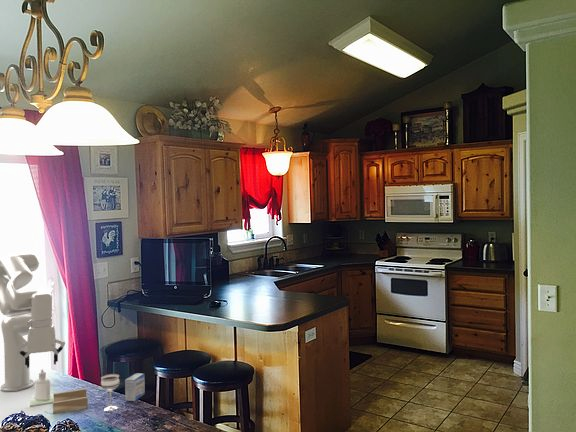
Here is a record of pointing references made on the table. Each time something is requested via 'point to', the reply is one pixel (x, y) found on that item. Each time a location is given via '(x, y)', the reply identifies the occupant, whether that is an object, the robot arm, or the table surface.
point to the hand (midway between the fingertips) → (41, 365)
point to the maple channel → (70, 401)
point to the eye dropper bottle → (42, 387)
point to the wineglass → (110, 387)
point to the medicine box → (134, 387)
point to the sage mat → (35, 402)
